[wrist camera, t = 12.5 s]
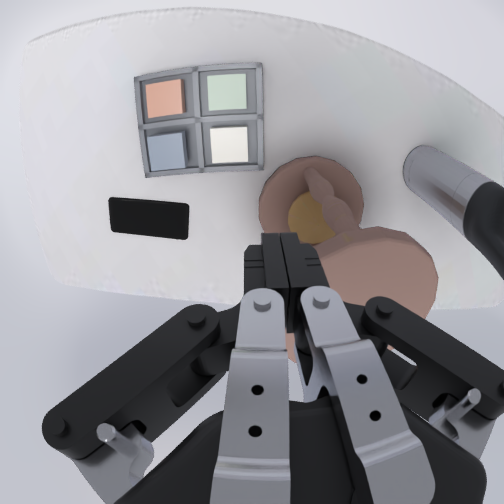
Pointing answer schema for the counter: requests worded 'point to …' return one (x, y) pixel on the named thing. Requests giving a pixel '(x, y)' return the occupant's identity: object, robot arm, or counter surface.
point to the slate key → (167, 151)
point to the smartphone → (149, 217)
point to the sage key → (227, 92)
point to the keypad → (203, 118)
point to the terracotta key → (165, 98)
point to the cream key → (229, 144)
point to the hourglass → (346, 237)
